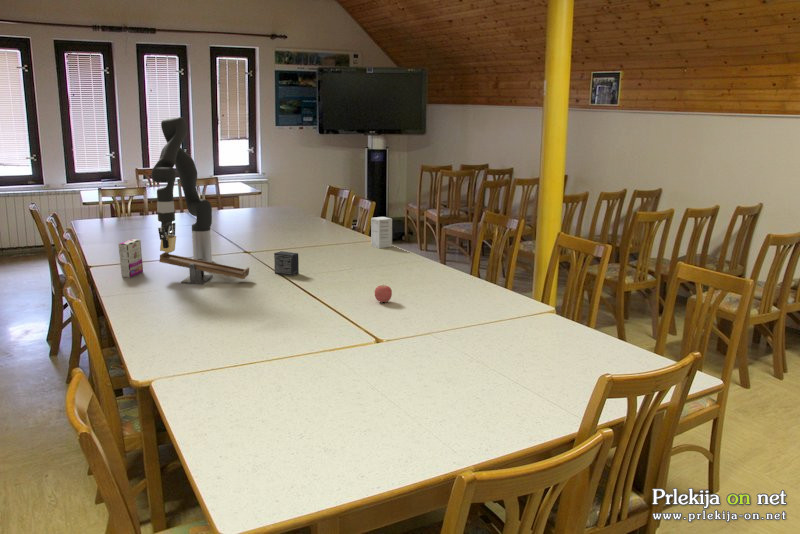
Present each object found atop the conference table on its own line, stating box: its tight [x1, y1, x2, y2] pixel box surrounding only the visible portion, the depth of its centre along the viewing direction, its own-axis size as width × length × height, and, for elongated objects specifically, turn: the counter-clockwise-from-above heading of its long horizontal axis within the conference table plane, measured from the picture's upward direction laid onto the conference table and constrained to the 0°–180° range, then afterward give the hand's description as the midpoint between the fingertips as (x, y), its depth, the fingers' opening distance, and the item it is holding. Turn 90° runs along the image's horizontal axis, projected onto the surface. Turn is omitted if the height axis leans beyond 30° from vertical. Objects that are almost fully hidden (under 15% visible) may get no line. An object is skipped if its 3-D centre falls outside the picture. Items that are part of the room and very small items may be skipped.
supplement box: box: [370, 216, 393, 249], centre depth 399 cm, size 10×9×17 cm
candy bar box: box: [118, 238, 144, 278], centre depth 324 cm, size 11×5×16 cm, turn 168°
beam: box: [159, 251, 250, 280], centre depth 317 cm, size 8×40×4 cm, turn 85°
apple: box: [374, 283, 393, 303], centre depth 290 cm, size 7×7×8 cm
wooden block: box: [159, 235, 177, 254], centre depth 316 cm, size 5×5×7 cm
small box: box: [273, 250, 300, 277], centre depth 333 cm, size 11×6×10 cm, turn 65°
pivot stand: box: [180, 259, 214, 286], centre depth 318 cm, size 14×10×9 cm
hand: (168, 246), depth 316 cm, fingers closed on wooden block, 5 cm apart
